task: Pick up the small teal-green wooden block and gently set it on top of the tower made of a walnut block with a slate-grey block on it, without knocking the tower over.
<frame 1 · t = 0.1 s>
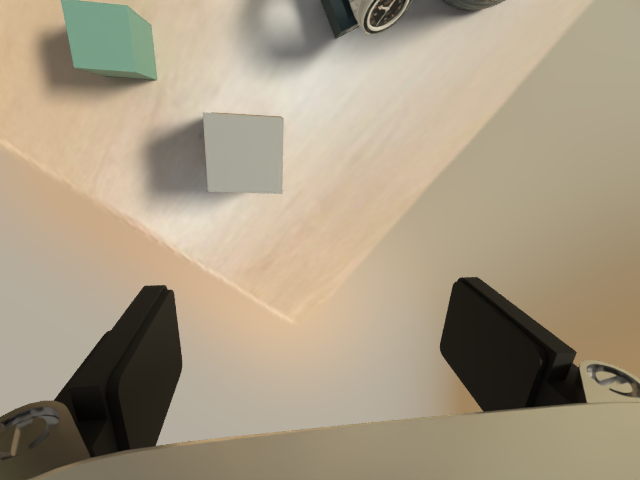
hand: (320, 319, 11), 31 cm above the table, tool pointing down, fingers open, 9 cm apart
stack block: (128, 50, 33), on the table
top block: (247, 150, 34), point 4 cm above the table, touching base block
watch: (350, 6, 35), on the table
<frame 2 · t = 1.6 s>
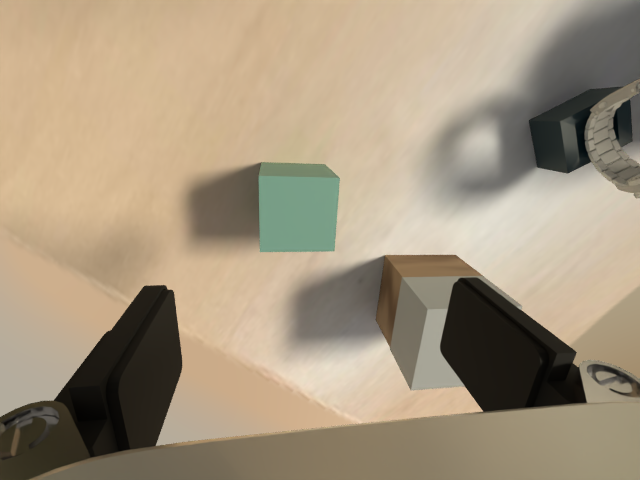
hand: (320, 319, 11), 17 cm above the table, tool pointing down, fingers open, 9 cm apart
stack block: (292, 194, 26), on the table
top block: (435, 313, 27), point 4 cm above the table, touching base block
watch: (561, 130, 28), on the table
base block: (414, 287, 31), on the table, touching top block
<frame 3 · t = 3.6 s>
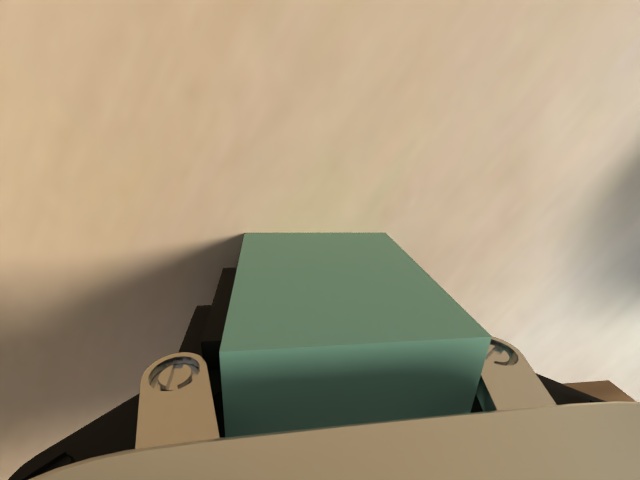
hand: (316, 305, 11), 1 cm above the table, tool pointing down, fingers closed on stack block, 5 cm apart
stack block: (314, 295, 12), on the table, touching gripper
base block: (526, 432, 17), on the table, touching top block
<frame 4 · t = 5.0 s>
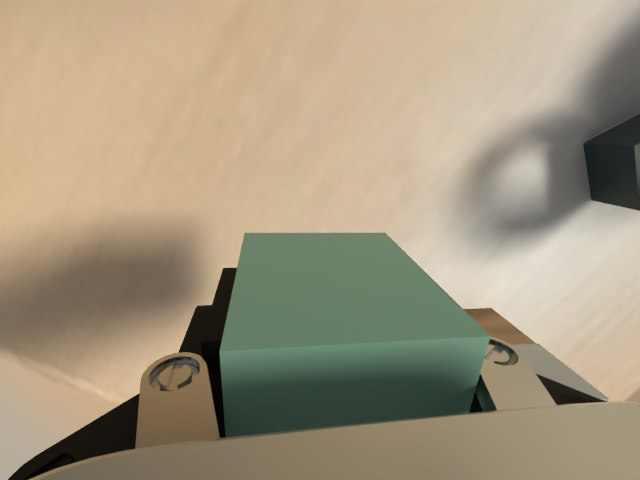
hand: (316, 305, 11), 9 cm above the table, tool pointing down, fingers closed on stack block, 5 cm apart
stack block: (314, 295, 12), point 8 cm above the table, touching gripper
top block: (476, 390, 21), point 4 cm above the table
watch: (621, 155, 22), on the table
base block: (439, 347, 25), on the table
when the fingers open (10 cm above the table, at t = 9.6 s): stack block stays where it is, resting on top block.
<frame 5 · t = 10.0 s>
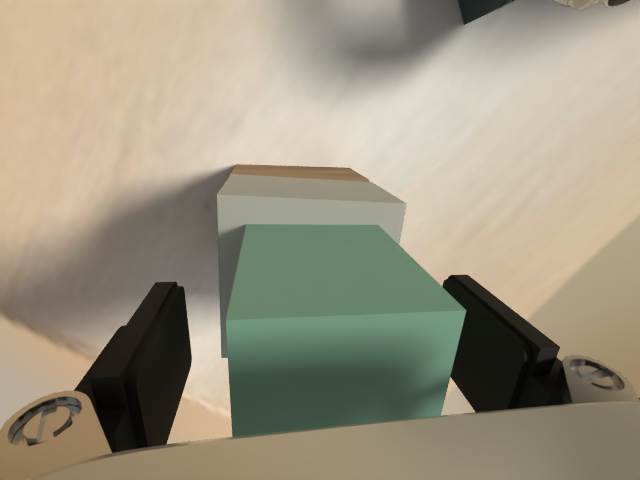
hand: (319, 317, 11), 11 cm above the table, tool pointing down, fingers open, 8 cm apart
stack block: (311, 283, 13), point 9 cm above the table, touching top block
top block: (299, 243, 17), point 4 cm above the table, touching base block, stack block
base block: (293, 219, 21), on the table, touching top block
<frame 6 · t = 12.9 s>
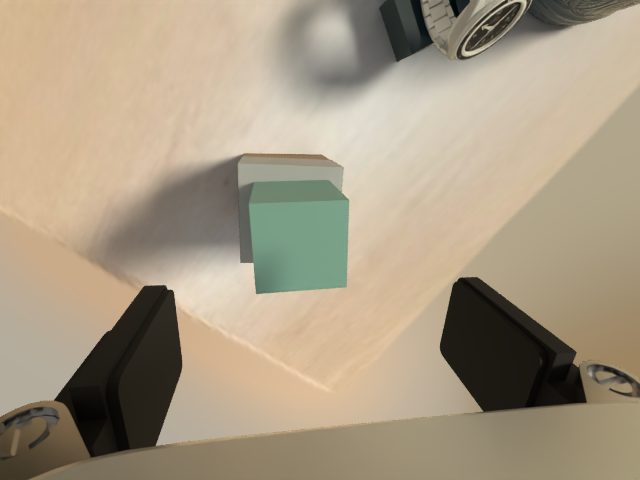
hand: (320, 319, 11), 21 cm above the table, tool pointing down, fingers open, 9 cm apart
stack block: (293, 216, 22), point 9 cm above the table, touching top block
top block: (287, 201, 26), point 4 cm above the table, touching base block, stack block
watch: (417, 22, 27), on the table
base block: (284, 191, 31), on the table, touching top block
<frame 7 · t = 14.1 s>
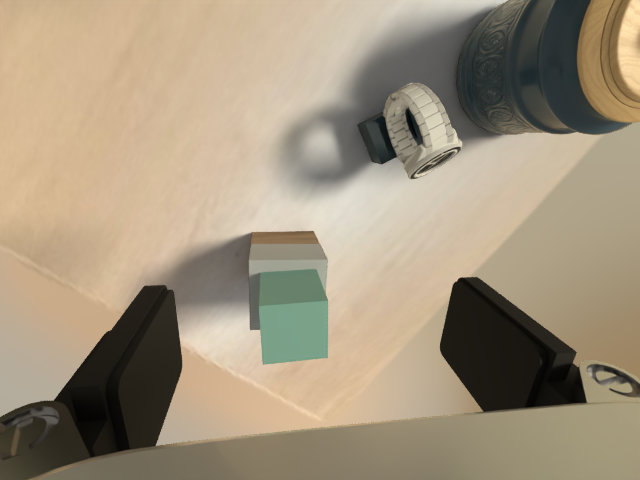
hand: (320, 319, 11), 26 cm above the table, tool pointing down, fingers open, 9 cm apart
stack block: (289, 295, 29), point 9 cm above the table, touching top block
top block: (285, 275, 34), point 4 cm above the table, touching base block, stack block
watch: (387, 133, 35), on the table
base block: (283, 259, 38), on the table, touching top block
canister: (506, 72, 35), on the table
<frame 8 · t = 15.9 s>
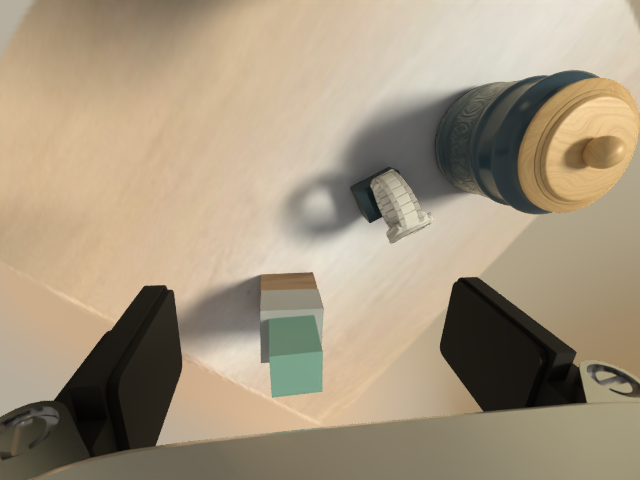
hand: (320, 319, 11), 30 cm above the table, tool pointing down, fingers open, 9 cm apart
stack block: (292, 335, 36), point 9 cm above the table, touching top block
top block: (289, 314, 41), point 4 cm above the table, touching stack block
watch: (375, 192, 41), on the table
base block: (287, 295, 45), on the table
canister: (479, 140, 41), on the table
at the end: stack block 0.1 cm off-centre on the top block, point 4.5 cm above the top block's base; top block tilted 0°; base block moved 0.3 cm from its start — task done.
